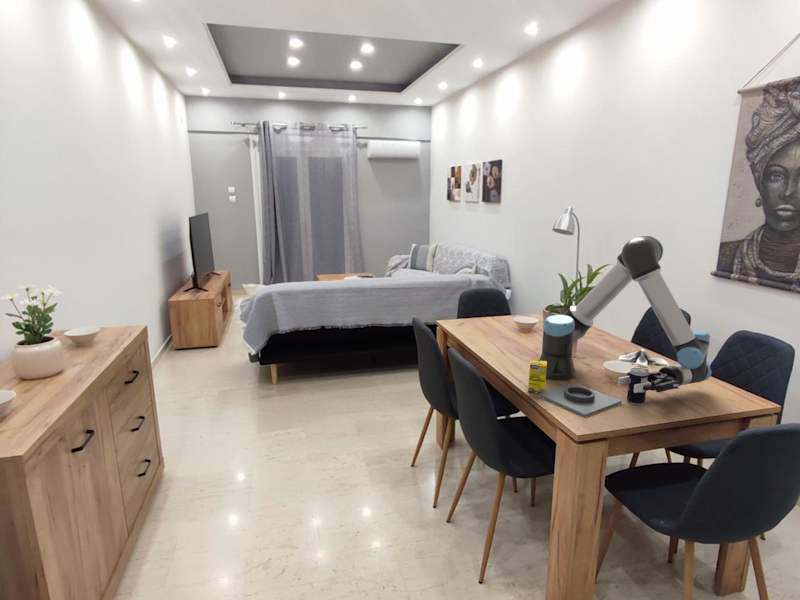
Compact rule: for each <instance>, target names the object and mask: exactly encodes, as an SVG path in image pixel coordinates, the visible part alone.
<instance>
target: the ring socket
mask: <svg viewBox="0 0 800 600" xmlns="http://www.w3.org/2000/svg"><path fill="white" fill-rule="evenodd" d="M538 396H540V397H539V398H541V397H542V398H541V399H543V398H544V399H543V400H545V399H546V400H545V401H547V400H548V402H550V401H551V402H550V403H552V402H553V403H552V404H554V403H555V405H556V404H557V406H559V407H561V408H563V407H564V409H566V410H568V411H570V412H572V411H573V412H572V413H574V412H575V414H577V415H580V416H581V415H582V416H581V417H583V416H584V417H583V418H587V417H589V416H592V415H594V414H597V412H598V413H600V412H602V411H605V410H609V409H611V408H613V407H617V406H618V405H621V404H622V403H623V401H622V400H620V399H618V398H615V397H612V396H610V395H607V394H605V393H603V392H600V391H598V390H595V389H591V388H589V387H587V386H584V385H582V384H579V383H577V382H572V383H568V384H565V385H561V386H558V387H555V388H552V389H548V390H545V392H541V393H537V397H538Z"/></svg>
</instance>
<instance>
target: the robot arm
mask: <svg viewBox="0 0 800 600" xmlns="http://www.w3.org/2000/svg"><path fill="white" fill-rule="evenodd" d="M623 245H624V246H623V248H622V249H621V253H619V255H617V256H616V263H615V264H614V266H613V267H611V268H610V270H609V271H608V272H607V273H606V274H605V275H604V276H603V277H602V278H601V279H600V280H599V282H597V284H595V286H593V288H592V289H591V290H590V291H589V292H588V293H587V294H586V295H585V296H584V297H583V298H582V299H581V300H580V301H579V302H578V303H577V305H570V306H569V307H568V308H567V309H566V310H565V312H563V314H555V315H549V316H548V317H546V318H545V319H544V322H543V325H542V326H543V327H542V345H541V346H542V348H541V355H540V358H539V359H538V361H547V369H546V379H549V378H550V380H557V381H568V380H571V379H574V378H575V376H576V369H575V366H574V360H573V346H574V343H576V341H578V340H579V339H582V337H584V336H585V335H586V333H587V331H588V330H589V329H590V328H592V326H594V319H595V318H596V317H597V316H598V315H599V314H600V313H601V312H602V311H604V309H605V308H606V307H607V306H608V305H609V304H610V303H611V302H612V301H613V300H614V299H615V298H617V296H618V295H619V294H621V292H622V291H624V289H625V288H626V287H628V285H629V284H630V283H631V282H632V281H634V282H637V283H638V285H639V286H640V288H641V290H642V292H643V294H644V296H645V297H646V299H647V301H648V303H649V305H650V306H651V309H652V310H653V311H654V314H655V316H656V317H657V319H658V321H659V323H660V325H661V327H662V328H663V330H664V332H665V334H666V336H667V337H668V339H669V341H670V344H671V345H672V347H673V349H674V351H675V353H676V358H677V359H676V360H677V362H678V364H673V365H669V366H662V367H661V368H659V370H658V371H652V372H650V371H649V370H650V369H649V368H645V370H646V371H647V374H648V378H647V382H645V383H640V384H635V385H634V393H637V392H642V391H646V392H647V391H651V392H652V391H653V392H654V391H656V393H663V392H666V391H670V390H673V389H674V390H676V389H679V387H681V386H685V385H690V384H695V383H697V384H698V383H702V382H705V381H706V380H707V381H708V379H710V377H711V376H712V374H713V373H712V369H711V365H710V364H709V363H707V359H708V353H709V347H710V343H711V342H710V339H711V336H710V334H709V333H708V332H706V331H703V330H697V329H692V328H691V326H690V325H689V323H688V321H687V319H686V317H685V316H684V313H683V312H682V310H681V309H680V307H679V304H678V303H677V301H676V299H675V298H674V295H673V294H672V291H671V290H670V288H669V287H668V285H667V283H666V281H665V279H664V278H663V275H662V274H661V270H662V266H660V264H659V262H660V261H661V259H662V258H663V255H664V247H663V244H662V243H661V241H660V240H659V239H657V238H656V237H654V236H651V235H641V236H639V237H638V236H637V237H634V238H632V239H629V240H628V241H627V242H626V243H625V244H623ZM629 373H630V371H628V372H627V375H625V376H621V377H618V379H617V386H619V387H620V386H624V385H628V383H629Z"/></svg>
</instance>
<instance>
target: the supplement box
mask: <svg viewBox="0 0 800 600" xmlns="http://www.w3.org/2000/svg"><path fill="white" fill-rule="evenodd" d="M529 364H530V365H529V372H528V373H529V374H528V375H529V376H528V385H527V386H528V389H527V392H528V393H534V392H538V393H541V392H545V391H546V381H547V380H546V379H547V378H546V369H547V361H539V359H538V360H536V359H530V363H529ZM538 393H537V394H538Z"/></svg>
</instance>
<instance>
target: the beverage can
mask: <svg viewBox="0 0 800 600" xmlns="http://www.w3.org/2000/svg"><path fill="white" fill-rule="evenodd" d="M645 369H646V368H645ZM645 369H644V368H643V367H632V368H630V371H629V372H630V373H629V383H628V384H627V392H626V393H627V394H626V400H627V401H628V402H629V403H630V404H632V405H636V406H641V405H642V404H644V403H645V402H646V396H647V395H646V394H647V391H642V392H637V393H634V385H635V384H640V383H645V382H648V381H647V378H648V374H647V371H646V370H645Z"/></svg>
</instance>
